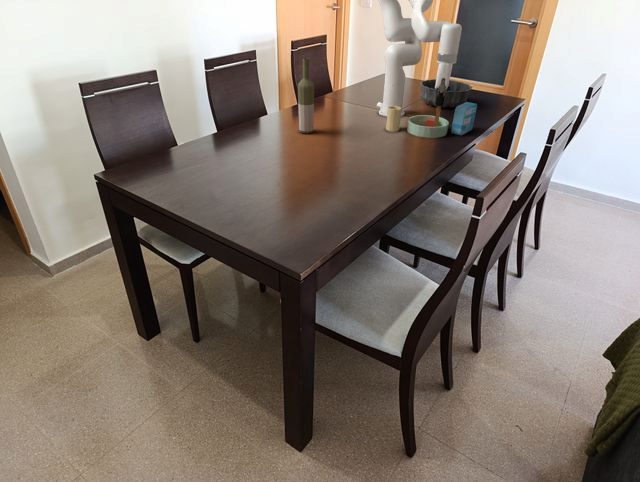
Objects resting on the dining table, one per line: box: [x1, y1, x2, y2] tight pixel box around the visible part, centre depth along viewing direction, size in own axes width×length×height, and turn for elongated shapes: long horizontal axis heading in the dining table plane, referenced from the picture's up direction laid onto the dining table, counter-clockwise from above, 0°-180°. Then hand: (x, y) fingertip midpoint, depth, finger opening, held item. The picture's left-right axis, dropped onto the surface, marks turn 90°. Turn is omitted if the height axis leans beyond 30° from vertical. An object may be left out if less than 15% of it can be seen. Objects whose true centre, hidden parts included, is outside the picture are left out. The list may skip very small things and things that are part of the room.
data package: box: [450, 101, 478, 137], centre depth 186 cm, size 12×4×12 cm, turn 138°
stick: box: [434, 106, 442, 127], centre depth 182 cm, size 2×2×16 cm
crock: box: [385, 106, 403, 132], centre depth 187 cm, size 6×6×10 cm
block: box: [425, 118, 435, 127], centre depth 191 cm, size 4×4×4 cm
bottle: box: [297, 57, 315, 134], centre depth 179 cm, size 7×7×30 cm
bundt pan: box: [419, 78, 473, 109], centre depth 225 cm, size 26×26×10 cm
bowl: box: [406, 114, 449, 139], centre depth 187 cm, size 17×17×5 cm
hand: (439, 104), depth 180 cm, fingers closed on stick, 1 cm apart
